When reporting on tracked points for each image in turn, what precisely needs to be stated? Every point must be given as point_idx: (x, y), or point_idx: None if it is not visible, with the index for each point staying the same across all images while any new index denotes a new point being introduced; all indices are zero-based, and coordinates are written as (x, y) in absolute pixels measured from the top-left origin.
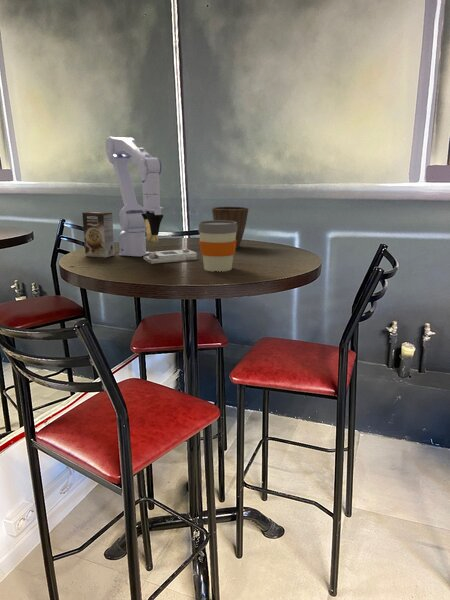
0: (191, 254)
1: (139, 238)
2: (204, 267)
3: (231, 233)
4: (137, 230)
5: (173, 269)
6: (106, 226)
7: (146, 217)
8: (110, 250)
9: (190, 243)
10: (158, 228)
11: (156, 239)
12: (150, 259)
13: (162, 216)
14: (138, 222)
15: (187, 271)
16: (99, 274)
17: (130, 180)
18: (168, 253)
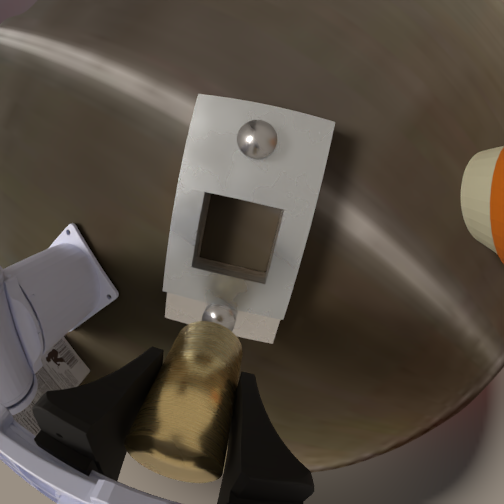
0: (327, 152)
1: (60, 314)
2: (479, 241)
3: None
4: (33, 336)
5: (409, 320)
6: (30, 420)
7: (119, 460)
8: (63, 357)
9: (32, 23)
10: (260, 406)
11: (239, 356)
12: (255, 337)
13: (312, 479)
14: (5, 349)
15: (456, 299)
16: (300, 459)
17: None
18: (202, 218)
